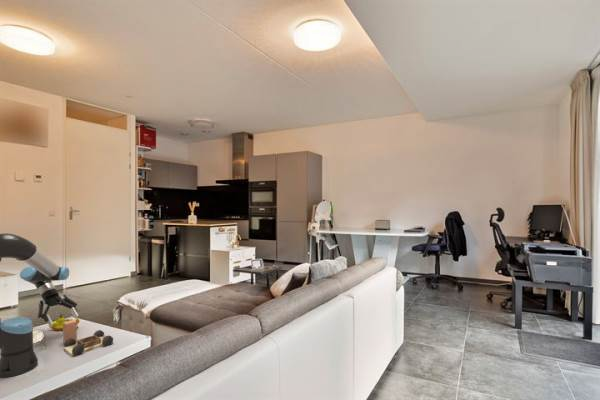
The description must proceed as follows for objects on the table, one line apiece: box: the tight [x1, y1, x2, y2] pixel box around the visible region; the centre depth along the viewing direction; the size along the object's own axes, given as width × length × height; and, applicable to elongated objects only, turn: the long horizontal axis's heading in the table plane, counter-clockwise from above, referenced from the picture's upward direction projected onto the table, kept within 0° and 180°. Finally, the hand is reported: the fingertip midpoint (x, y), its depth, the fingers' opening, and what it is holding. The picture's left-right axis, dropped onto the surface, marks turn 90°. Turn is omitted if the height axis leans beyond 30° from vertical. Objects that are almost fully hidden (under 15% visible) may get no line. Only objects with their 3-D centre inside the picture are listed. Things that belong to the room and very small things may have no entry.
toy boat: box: [49, 313, 80, 331], centre depth 203 cm, size 6×18×10 cm, turn 89°
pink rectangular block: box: [62, 319, 78, 345], centre depth 182 cm, size 5×5×12 cm
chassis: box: [63, 329, 114, 358], centre depth 177 cm, size 20×14×5 cm
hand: (64, 321), depth 186 cm, fingers open, 13 cm apart
